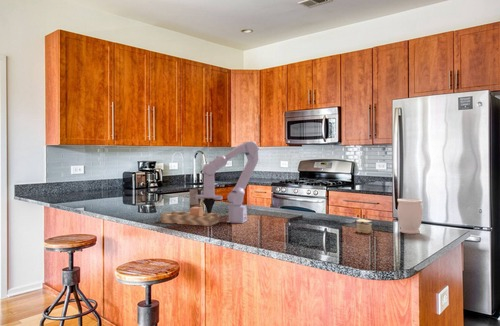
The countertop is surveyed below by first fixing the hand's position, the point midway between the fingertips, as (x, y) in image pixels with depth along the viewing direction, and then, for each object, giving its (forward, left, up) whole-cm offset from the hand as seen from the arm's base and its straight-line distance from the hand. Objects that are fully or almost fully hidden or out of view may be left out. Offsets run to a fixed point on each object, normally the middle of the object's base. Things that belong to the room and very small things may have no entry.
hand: (209, 212), depth 194 cm
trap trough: (+11, 0, -6) cm, 13 cm away
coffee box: (+17, -19, -6) cm, 26 cm away
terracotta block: (+7, 0, -3) cm, 8 cm away
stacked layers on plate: (-77, -3, -6) cm, 77 cm away
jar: (-97, -8, -6) cm, 98 cm away
